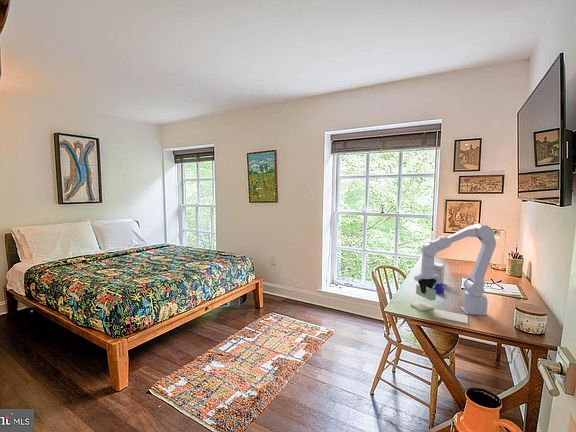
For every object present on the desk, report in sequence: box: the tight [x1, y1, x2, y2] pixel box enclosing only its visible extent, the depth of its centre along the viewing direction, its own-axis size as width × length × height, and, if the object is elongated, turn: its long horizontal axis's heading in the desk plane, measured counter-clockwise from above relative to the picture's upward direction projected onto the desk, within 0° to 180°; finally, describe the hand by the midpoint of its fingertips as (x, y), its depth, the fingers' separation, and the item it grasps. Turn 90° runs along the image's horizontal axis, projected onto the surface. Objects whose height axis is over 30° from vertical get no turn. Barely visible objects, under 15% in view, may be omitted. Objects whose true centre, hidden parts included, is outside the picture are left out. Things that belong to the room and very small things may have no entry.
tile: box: [410, 300, 434, 312], centre depth 150 cm, size 2×7×8 cm
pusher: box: [415, 283, 437, 301], centre depth 150 cm, size 10×3×5 cm, turn 20°
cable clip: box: [425, 279, 445, 295], centre depth 175 cm, size 12×4×6 cm, turn 22°
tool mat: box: [433, 308, 469, 325], centre depth 140 cm, size 14×9×1 cm, turn 60°
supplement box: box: [434, 261, 445, 286], centre depth 187 cm, size 7×7×13 cm
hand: (425, 292), depth 150 cm, fingers closed on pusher, 3 cm apart
